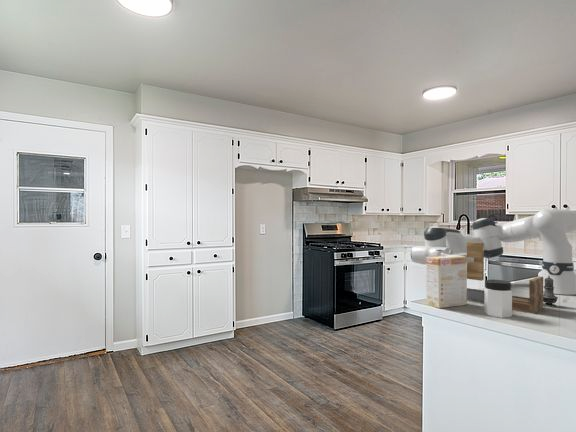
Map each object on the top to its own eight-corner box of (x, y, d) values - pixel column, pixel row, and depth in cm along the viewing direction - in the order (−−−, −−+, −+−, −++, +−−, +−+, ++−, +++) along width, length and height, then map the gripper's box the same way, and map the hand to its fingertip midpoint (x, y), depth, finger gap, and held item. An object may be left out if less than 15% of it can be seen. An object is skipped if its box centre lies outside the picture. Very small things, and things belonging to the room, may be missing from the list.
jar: (514, 318, 126) (514, 284, 126) (488, 317, 128) (488, 283, 128) (506, 312, 134) (506, 279, 134) (482, 310, 136) (482, 278, 136)
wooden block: (469, 278, 160) (469, 241, 160) (483, 279, 155) (483, 242, 155) (466, 278, 158) (466, 242, 158) (481, 280, 154) (481, 242, 154)
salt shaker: (561, 307, 141) (561, 276, 141) (544, 307, 142) (544, 276, 142) (553, 304, 147) (553, 274, 147) (537, 303, 148) (537, 274, 148)
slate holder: (465, 295, 163) (465, 287, 163) (489, 299, 156) (489, 290, 156) (458, 298, 158) (458, 289, 158) (482, 301, 151) (482, 293, 151)
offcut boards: (502, 304, 146) (502, 296, 146) (531, 309, 138) (531, 300, 138) (499, 306, 144) (499, 297, 144) (528, 310, 136) (528, 301, 136)
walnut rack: (504, 301, 151) (504, 272, 151) (543, 307, 141) (543, 276, 141) (493, 306, 142) (493, 276, 142) (533, 313, 132) (533, 280, 132)
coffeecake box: (453, 301, 152) (453, 254, 152) (467, 305, 145) (467, 256, 145) (425, 304, 146) (425, 256, 146) (439, 308, 140) (439, 257, 140)
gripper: (454, 261, 174) (485, 264, 163) (434, 265, 160) (466, 269, 150) (454, 248, 174) (485, 250, 163) (434, 251, 160) (466, 253, 150)
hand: (476, 259), depth 156 cm, fingers closed on wooden block, 2 cm apart
